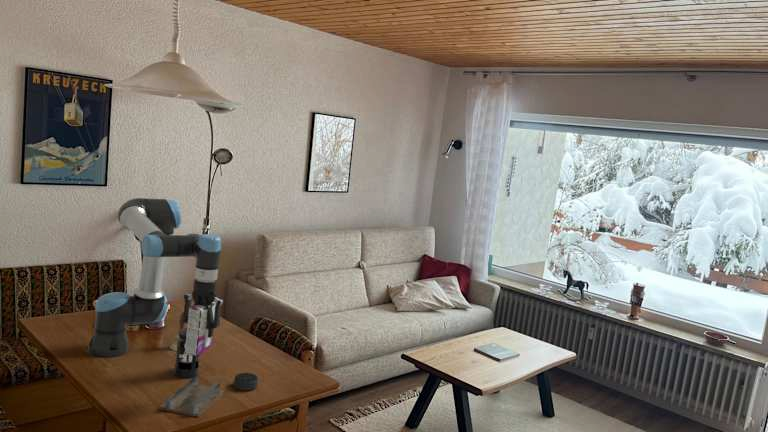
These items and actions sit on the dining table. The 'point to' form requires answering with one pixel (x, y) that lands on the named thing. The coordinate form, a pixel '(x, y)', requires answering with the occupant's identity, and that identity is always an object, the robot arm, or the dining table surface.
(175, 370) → the french press
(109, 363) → the dining table surface
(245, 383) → the smart speaker
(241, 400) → the dining table surface
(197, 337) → the candy bar box
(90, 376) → the dining table surface
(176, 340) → the hand bell
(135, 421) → the dining table surface
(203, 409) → the sliding track
